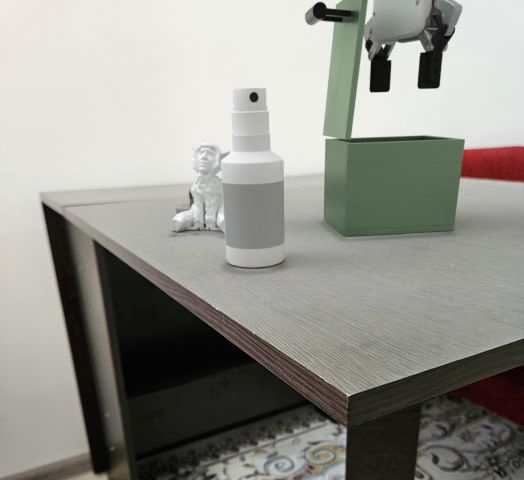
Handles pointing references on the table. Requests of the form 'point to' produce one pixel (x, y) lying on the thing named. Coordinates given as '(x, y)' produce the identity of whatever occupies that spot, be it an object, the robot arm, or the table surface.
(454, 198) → the trash bin
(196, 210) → the sitting furry creature
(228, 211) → the spray bottle
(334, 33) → the bin lid
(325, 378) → the table surface
